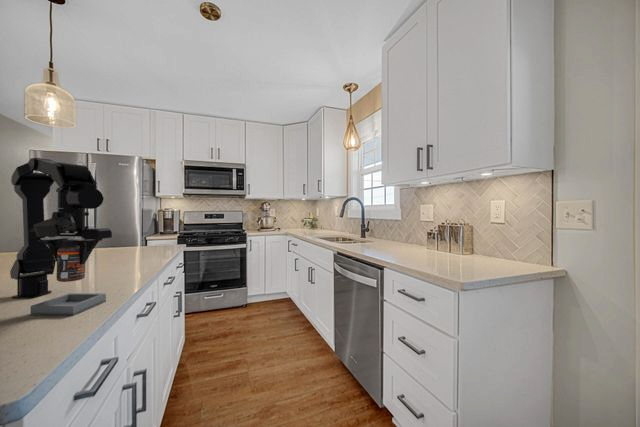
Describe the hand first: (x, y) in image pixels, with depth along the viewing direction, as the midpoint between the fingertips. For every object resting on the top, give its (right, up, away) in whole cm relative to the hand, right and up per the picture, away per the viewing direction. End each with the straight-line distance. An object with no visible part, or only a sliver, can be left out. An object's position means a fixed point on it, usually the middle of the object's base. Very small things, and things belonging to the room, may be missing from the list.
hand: (71, 263), depth 76 cm
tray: (0, -13, 0) cm, 13 cm away
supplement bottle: (0, -5, 0) cm, 5 cm away
